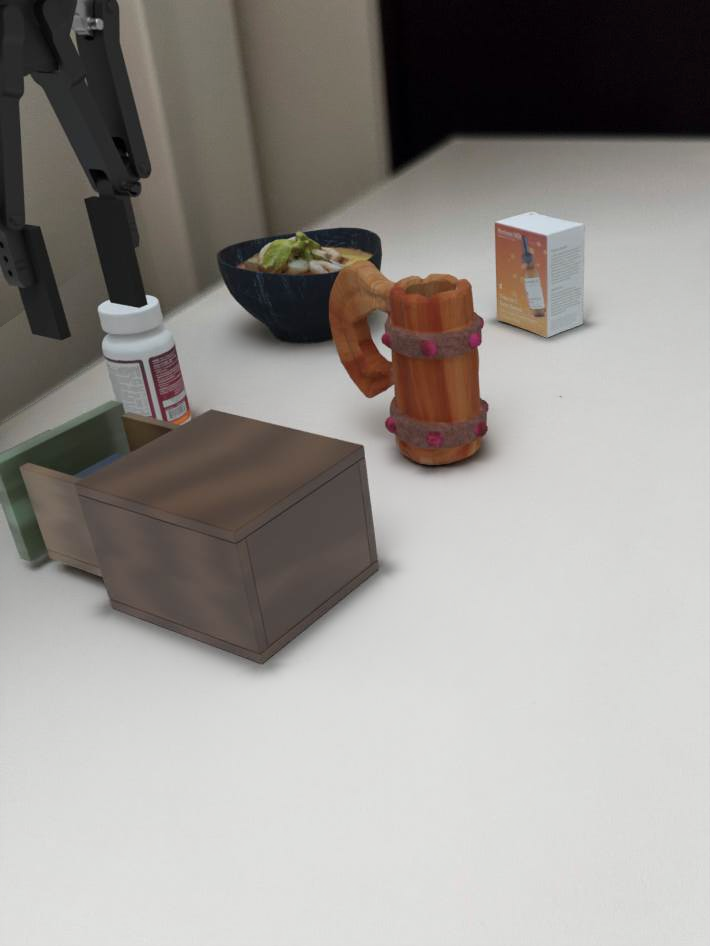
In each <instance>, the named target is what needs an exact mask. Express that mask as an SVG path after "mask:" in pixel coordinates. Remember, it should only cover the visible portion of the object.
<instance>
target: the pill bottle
mask: <svg viewBox="0 0 710 946" xmlns="http://www.w3.org/2000/svg"><path fill="white" fill-rule="evenodd" d="M145 295H146V299H147V303H148V305H145V306H143V307H141V308H136V307H131V306H126V305H120V304H115V303H110V299H108V300H105V301H103V302H102V303H100V304H99V305H98V307H97V313H98V317H99V321H100V326H101V329H102V331H103V332H105V333H107V334H106V335H105V336H104V337H103V339H102V342H101V350H102V355H103V357H104V361H105V364H106V369H107V372H108V376H109V380H110V384H111V387H112V391H113V394H114V398H115V401H117V402H121V403H123V407H124V410H125V414H126V413H128V412H131V413H135V414H139V415H142V416H146V417H150V418H154V419H158V420H162V421H166V422H170V423H174V424H178V425H183V424H185V423H187V422H188V421H190V420H192V412H191V407H190V403H189V398H188V395H187V390H186V387H185V381H184V376H183V373H182V369H181V365H180V361H179V356H178V351H177V345H176V342H175V339H174V335H173V333H172V331H171V330H170V329H169V328H168V327H167V326H165V325H162V323H163V321H164V316H163V313H162V309H161V304H160V301H159V299H158V298H157V297H155V296H154V295H149V294H145Z"/></svg>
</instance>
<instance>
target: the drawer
mask: <svg viewBox="0 0 710 946" xmlns="http://www.w3.org/2000/svg"><path fill="white" fill-rule="evenodd" d="M179 426H181V425H178V424H174V423H170V422H166V421H162V420H158V419H154V418H150V417H146V416H142V415H139V414H135V413H131V412H128V413H126V414H125V410H124V407H123V403H121V402H117V401H116V400H113V399H111V400H109V401H107V402H105V403H103V404H101V405H98V406H97V407H95V408H93V409H90V410H88V411H86V412H84V413H82V414H80V415H78V416H76V417H74V418H72V419H69V420H68V421H65V422H63V423H62V424H59V425H58V426H55V427H53V428H51V429H47V430H45V431H43V432H40V433H39V434H37V435H35V436H33V437H31V438H29V439H27V440H24V441H22V442H20V443H18V444H17V445H14V446H12V447H10V448H8V449H6V450H4V451H1V452H0V505H1V507H2V511H3V514H4V517H5V519H6V522H7V525H8V528H9V530H10V533H11V536H12V539H13V541H14V543H15V544H14V545H15V548H16V550H17V552H18V555H19V558H20V559H22V560H25V561H26V562H29V563H32V562H34V561H35V560H37V559H39V558H41V557H42V556H44V555H46V554H48V557H49V560H54V561H56V562H59V563H61V564H65V565H67V566H70V567H73V568H76V569H78V570H81V571H84V572H87V573H89V574H92V575H95V576H98V577H101V578H103V577H102V574H101V570H100V567H99V564H98V561H97V557H96V554H95V551H94V548H93V544H92V541H91V538H90V535H89V531H88V528H87V525H86V522H85V518H84V515H83V512H82V509H81V505H80V502H79V499H78V496H77V492H76V489H75V486H74V483H75V482H77V481H79V480H81V478H78V477H75V476H74V475H76V474H77V473H79V472H81V471H83V470H85V469H87V468H89V467H91V466H92V465H94V464H96V463H98V462H100V461H102V460H104V459H106V458H108V457H109V456H111V455H113V454H115V453H121V454H124V455H127V454H129V453H131V452H133V451H135V450H136V449H138V448H140V447H142V446H144V445H146V444H148V443H149V442H151V441H153V440H155V439H157V438H159V437H161V436H162V435H164V434H166V433H168V432H170V431H172V430H174V429H175V428H177V427H179Z"/></svg>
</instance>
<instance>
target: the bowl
mask: <svg viewBox="0 0 710 946" xmlns="http://www.w3.org/2000/svg"><path fill="white" fill-rule="evenodd" d="M381 239H382V238H380V236H379V235H378V234H377V233H376V232H374V231H372V230H369V229H367V228H366V229H365V228H360V227H332V228H331V227H330V228H323V229H314V230H307V231H299V230H297V232H293V233H285V234H279V235H272V236H266V237H259V238H255V239H254V238H253V239H250V240H245V241H241V242H238V243H234V244H230V245H228V246H226V247H224V248H222V249H220V250H219V251H217V253H216V259H217V265H218V270H219V272H220V275H221V277H222V280H223V283H224V284H225V287H226V288H227V290H228V292H229V293H230V296H232V298H233V299H234V300H235V301H236V302H237V303H238V305H239V306H241V307H242V308H243V309H244V310H245V311H246V312H247V313H248V314H249V315H251V316H252V318H254V319H256V320H257V321H259V322H260V323H262V324H263V325H265V326H266V328H267V329H268V332H270V334H271V335H272V336H273V337H274V338H275V339H276V340H278V341H281V342H284V343H289V344H315V343H321V342H325V341H330V340H333V336H332V331H331V326H330V321H329V299H330V294H331V290H332V287H333V285H334V282H335V280H336V278H337V276H338V274H339V272H340V271H341V269H343V268H344V267H346V266H348V265H350V264H353V263H355V262H357V261H360V260H365V261H370V262H371V263H372V264H374V265H375V267H376V268H377V269H378V270H379V271H380V272H381V270H382V261H383V247H382V240H381Z"/></svg>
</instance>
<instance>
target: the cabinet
mask: <svg viewBox="0 0 710 946" xmlns="http://www.w3.org/2000/svg"><path fill="white" fill-rule="evenodd" d="M74 486H75V489H76V492H77V496H78V499H79V502H80V505H81V509H82V512H83V515H84V518H85V522H86V525H87V528H88V531H89V535H90V538H91V541H92V544H93V548H94V551H95V554H96V557H97V561H98V564H99V567H100V570H101V574H102V577H101V578H102V581H103V583H104V586H105V590H106V592H107V596H108V599H109V602H110V605H111V608H112V609H114V610H117V611H120V612H122V613H125V614H127V615H131V616H132V617H136V618H139V619H141V620H144V621H146V622H149V623H152V624H154V625H157V626H160V627H161V628H164V629H168V630H171V631H173V632H175V633H179V634H181V635H184V636H187V637H189V638H192V639H194V640H197V641H200V642H203V643H205V644H207V645H210V646H214V647H216V648H219V649H222V650H224V651H227V652H229V653H232V654H235V655H237V656H240V657H242V658H245V659H248V660H251V661H254V662H255V663H259V664H264V663H265V662H266V661H267V660H268V659H270V658H271V657H272V656H273V655H275V654H276V653H277V652H279V651H280V650H281V649H283V647H285V646H286V645H287V644H288V643H289V642H291V641H292V640H293V639H295V638H296V637H297V636H298V635H300V634H301V633H302V632H303V631H305V629H307V628H308V627H309V626H311V625H312V624H313V623H314V622H316V620H318V619H319V618H320V617H322V616H323V615H324V614H325V613H326V612H328V611H329V610H330V609H331V608H333V607H334V606H335V605H336V604H338V603H339V602H340V601H341V600H342V599H344V598H345V597H346V596H347V595H349V594H350V593H351V592H352V591H354V590H355V589H356V588H357V587H358V586H360V585H361V584H362V583H363V582H365V581H366V580H367V579H368V578H370V577H371V576H372V575H374V574H375V573H376V572H377V571H378V570H379V568H380V565H379V560H378V559H379V558H378V549H377V542H376V541H377V540H376V534H375V526H374V525H375V524H374V517H373V509H372V502H371V494H370V493H371V492H370V485H369V477H368V469H367V461H366V452H365V446H364V445H363V444H359V443H355V442H351V441H348V440H343V439H338V438H336V437H335V438H334V437H331V436H330V437H329V436H327V435H322V434H317V433H313V432H309V431H305V430H301V429H296V428H293V427H289V426H285V425H279V424H275V423H271V422H267V421H263V420H258V419H254V418H250V417H246V416H243V415H237V414H233V413H229V412H225V411H220V410H217V409H212V408H211V409H209V410H207V411H205V412H203V413H202V414H199V415H198V416H196V417H194V418H191V420H190V421H188V422H187V423H185V424H183V425H181V426H179V427H177V428H175V429H174V430H172V431H170V432H168V433H166V434H164V435H162V436H161V437H159V438H157V439H155V440H153V441H151V442H149V443H148V444H146V445H144V446H142V447H140V448H138V449H136V450H135V451H133V452H131V453H129V454H127V455H125V456H123V457H122V458H120V459H118V460H116V461H114V462H112V463H110V464H109V465H107V466H105V467H103V468H101V469H99V470H97V471H96V472H94V473H92V474H90V475H88V476H86V477H84V478H83V479H81V480H79V481H77V482H75V483H74Z"/></svg>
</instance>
